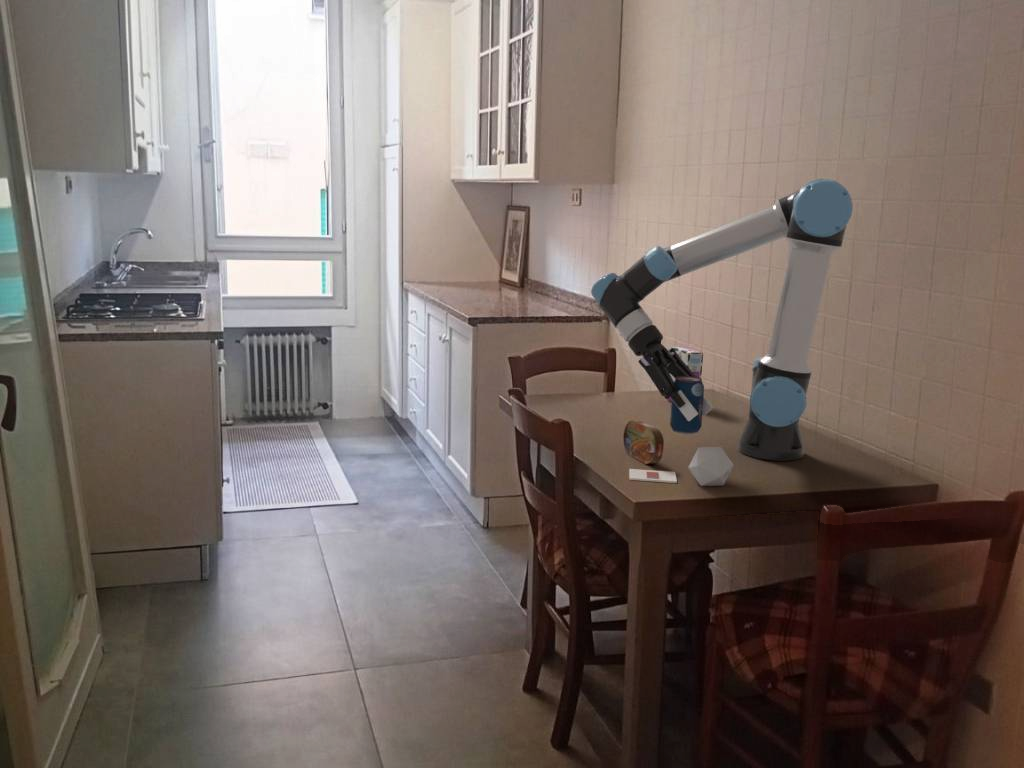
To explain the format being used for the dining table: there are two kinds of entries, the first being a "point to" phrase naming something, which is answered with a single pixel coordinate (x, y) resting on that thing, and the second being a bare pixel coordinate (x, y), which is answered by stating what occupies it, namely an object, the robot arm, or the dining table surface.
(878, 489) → the dining table surface
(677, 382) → the soda can
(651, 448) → the tin
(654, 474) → the card
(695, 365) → the candy bar box
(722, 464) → the die
